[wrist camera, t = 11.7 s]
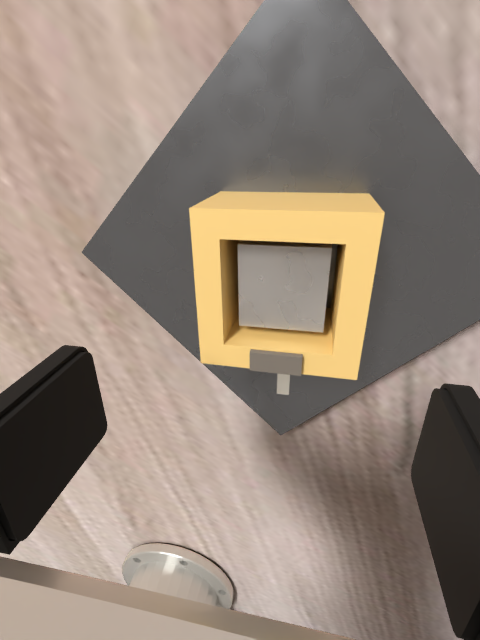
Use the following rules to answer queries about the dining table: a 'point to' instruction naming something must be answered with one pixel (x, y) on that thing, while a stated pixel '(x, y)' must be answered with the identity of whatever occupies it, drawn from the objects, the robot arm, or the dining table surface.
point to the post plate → (306, 177)
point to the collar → (285, 226)
